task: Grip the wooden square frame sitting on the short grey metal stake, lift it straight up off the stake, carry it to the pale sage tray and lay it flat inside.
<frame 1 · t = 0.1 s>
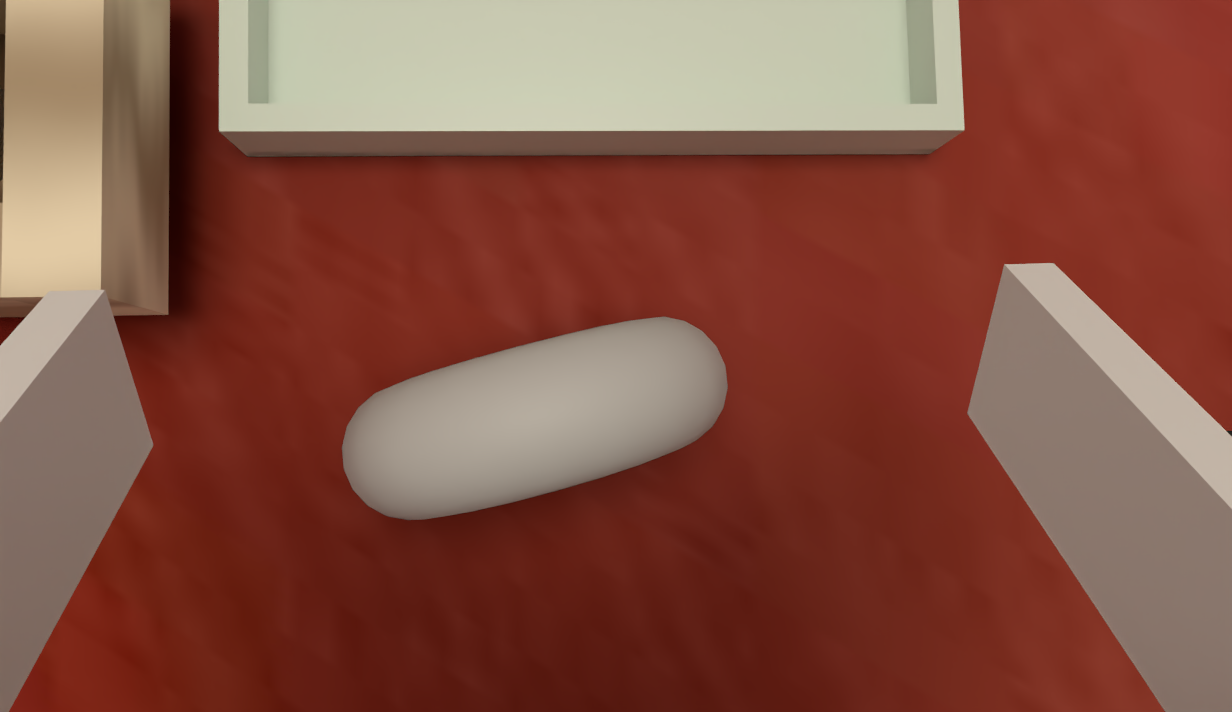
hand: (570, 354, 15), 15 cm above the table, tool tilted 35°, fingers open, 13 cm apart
metal stake: (37, 163, 29), on the table
donut: (539, 416, 30), on the table
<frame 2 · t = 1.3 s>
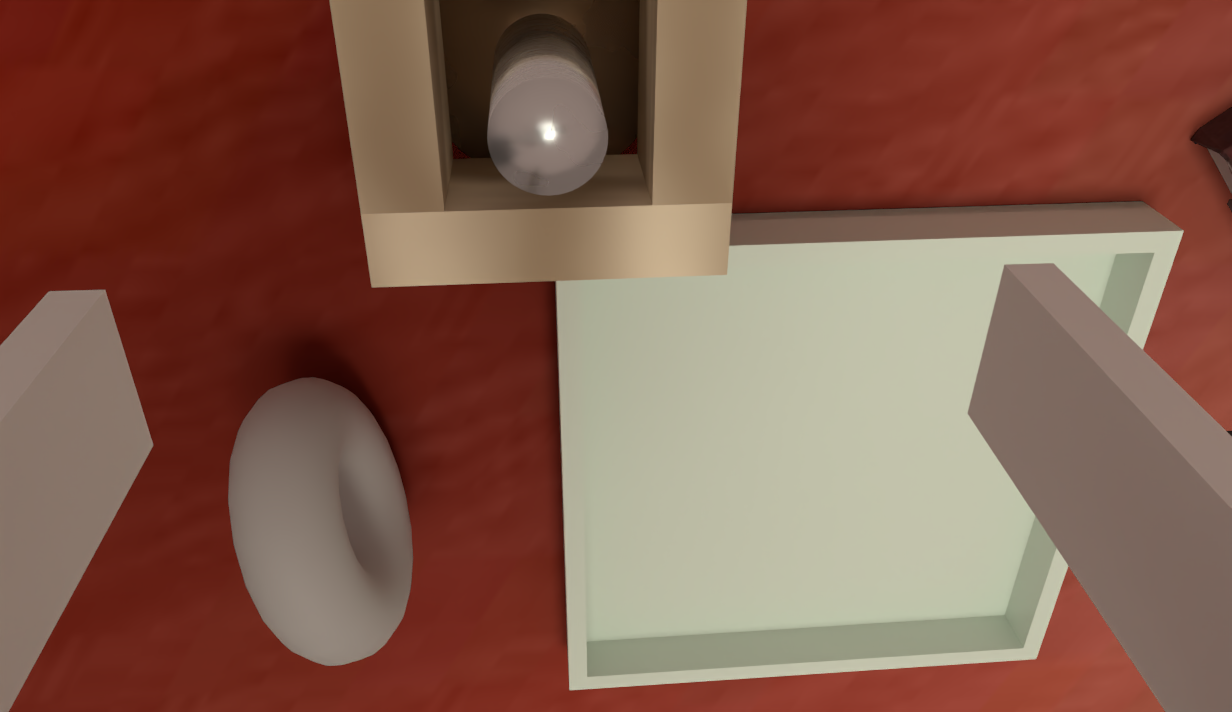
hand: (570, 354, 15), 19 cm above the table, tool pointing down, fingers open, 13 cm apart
wooden square frame: (542, 63, 28), point 3 cm above the table, touching metal stake
metal stake: (540, 38, 30), on the table
donut: (351, 429, 38), on the table
sage tray: (819, 450, 40), on the table
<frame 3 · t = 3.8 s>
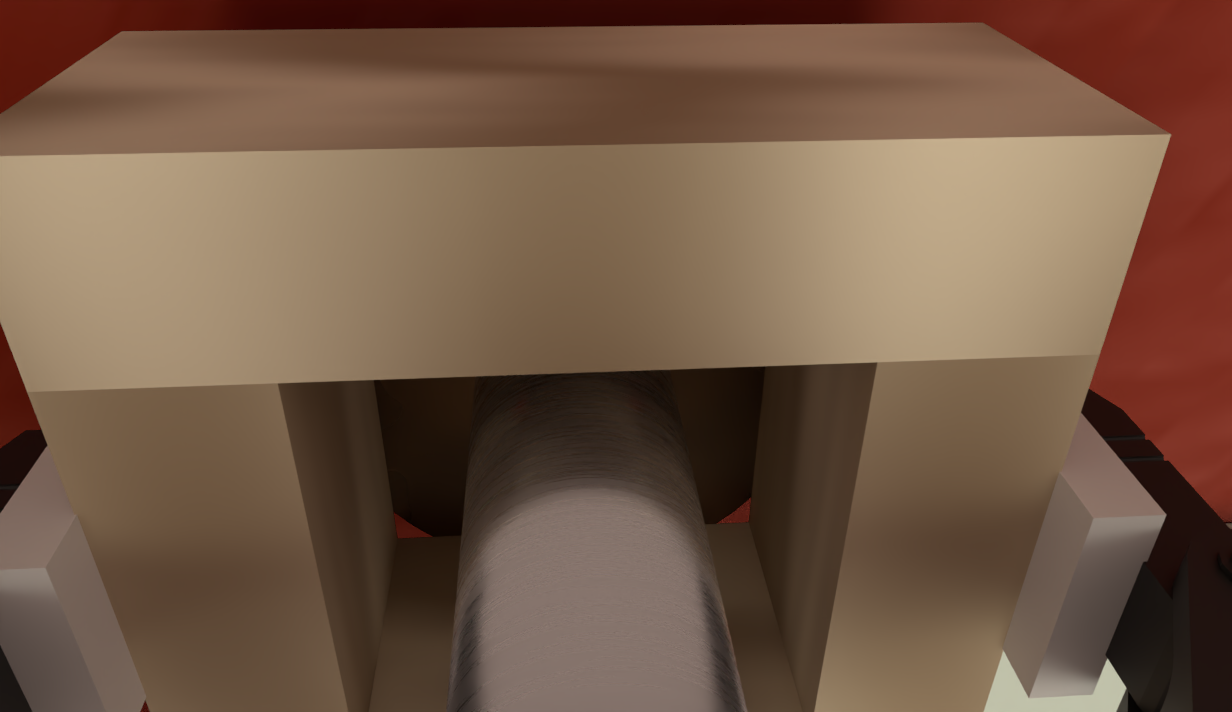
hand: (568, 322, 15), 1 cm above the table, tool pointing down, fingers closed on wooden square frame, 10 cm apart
wooden square frame: (572, 384, 14), point 3 cm above the table, touching gripper, metal stake
metal stake: (566, 286, 16), on the table
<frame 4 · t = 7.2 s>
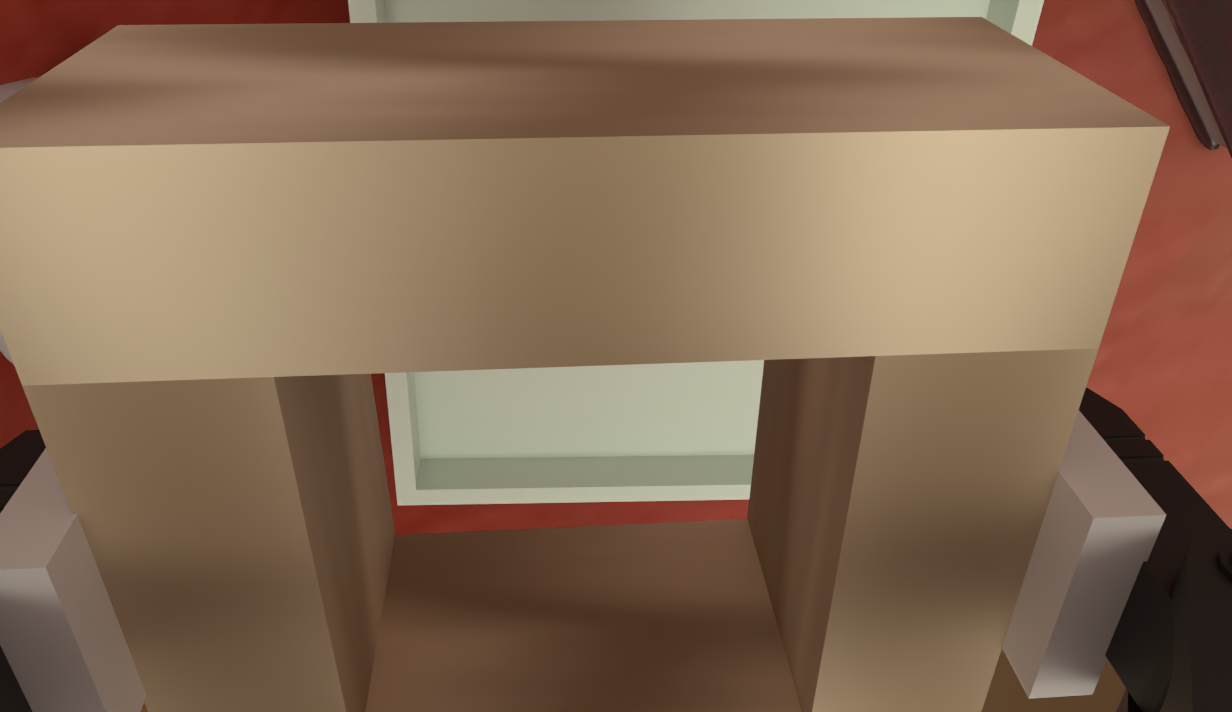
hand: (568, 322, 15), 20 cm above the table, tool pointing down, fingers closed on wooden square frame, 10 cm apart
wooden square frame: (570, 380, 14), point 22 cm above the table, touching gripper
donut: (144, 179, 34), on the table
sage tray: (672, 238, 37), on the table
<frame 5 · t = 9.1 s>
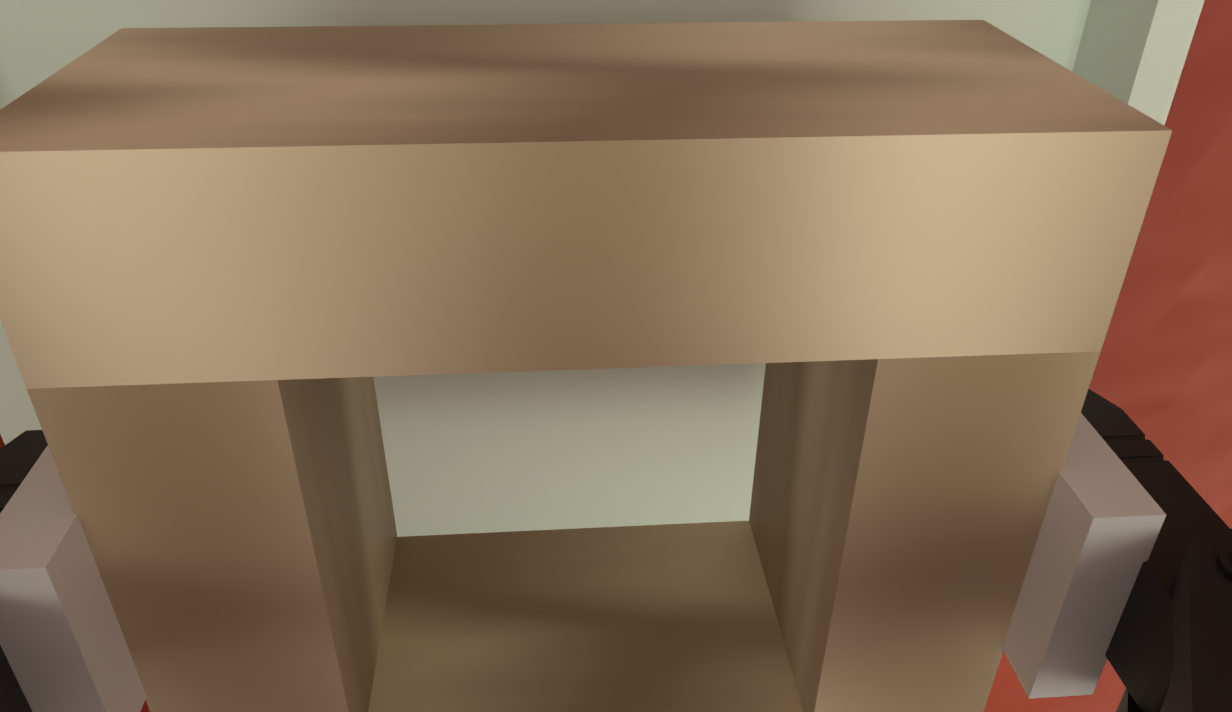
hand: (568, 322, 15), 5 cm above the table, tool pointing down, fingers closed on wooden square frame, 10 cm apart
wooden square frame: (572, 382, 14), point 7 cm above the table, touching gripper
sage tray: (554, 198, 20), on the table
when the fingers open (1 cm above the table, at t = 10.8 s): wooden square frame drops 3 cm, resting on sage tray.
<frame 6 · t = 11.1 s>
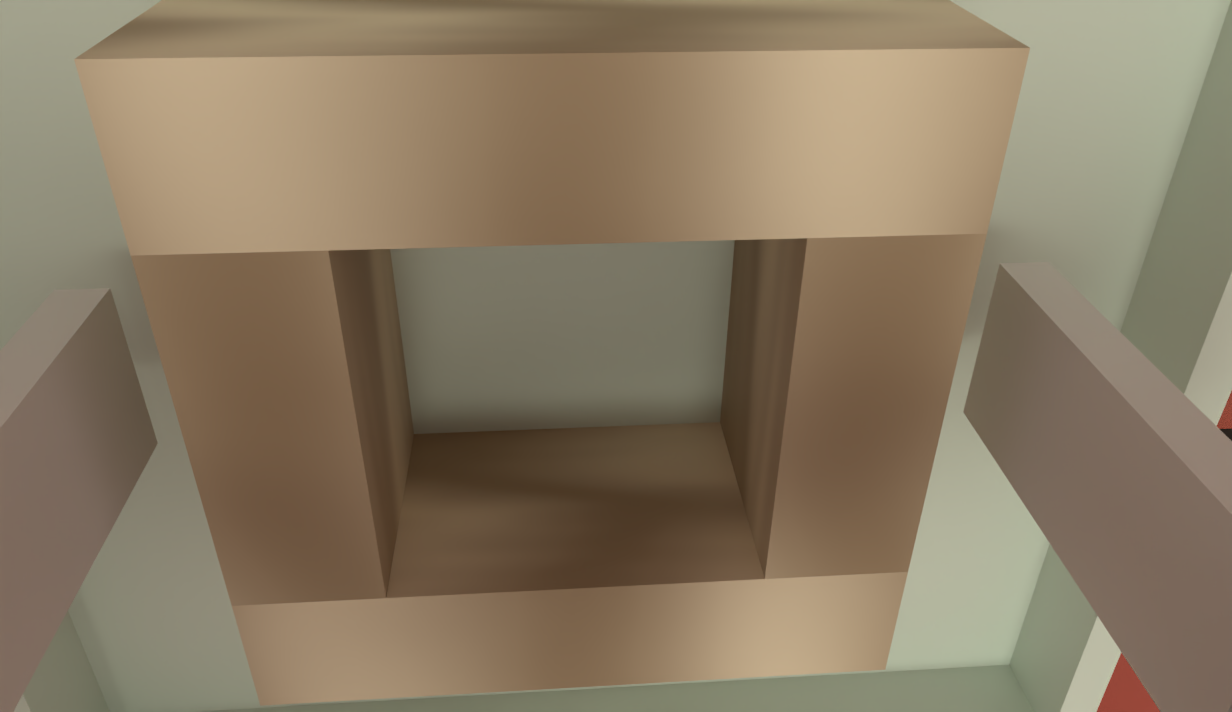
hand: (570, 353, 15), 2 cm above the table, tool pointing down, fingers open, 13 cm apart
wooden square frame: (565, 293, 16), point 1 cm above the table, touching sage tray
sage tray: (565, 278, 17), on the table
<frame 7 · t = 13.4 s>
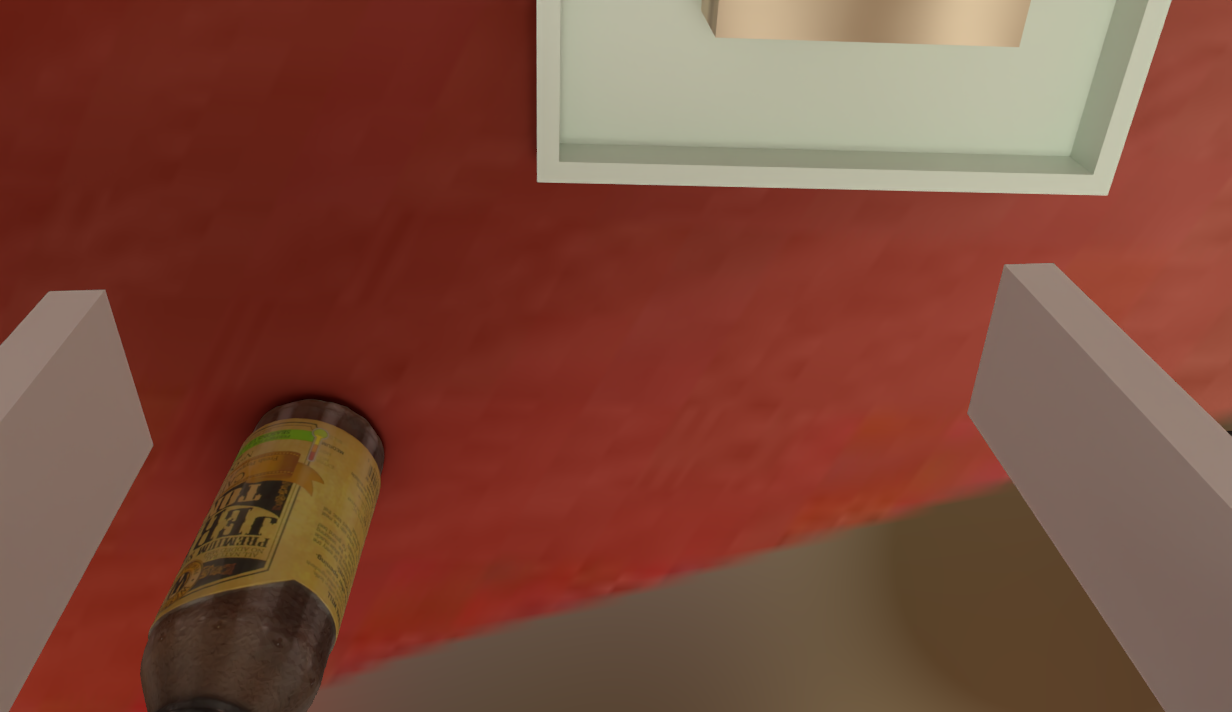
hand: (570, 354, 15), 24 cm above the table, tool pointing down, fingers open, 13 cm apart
sauce bottle: (319, 444, 45), on the table
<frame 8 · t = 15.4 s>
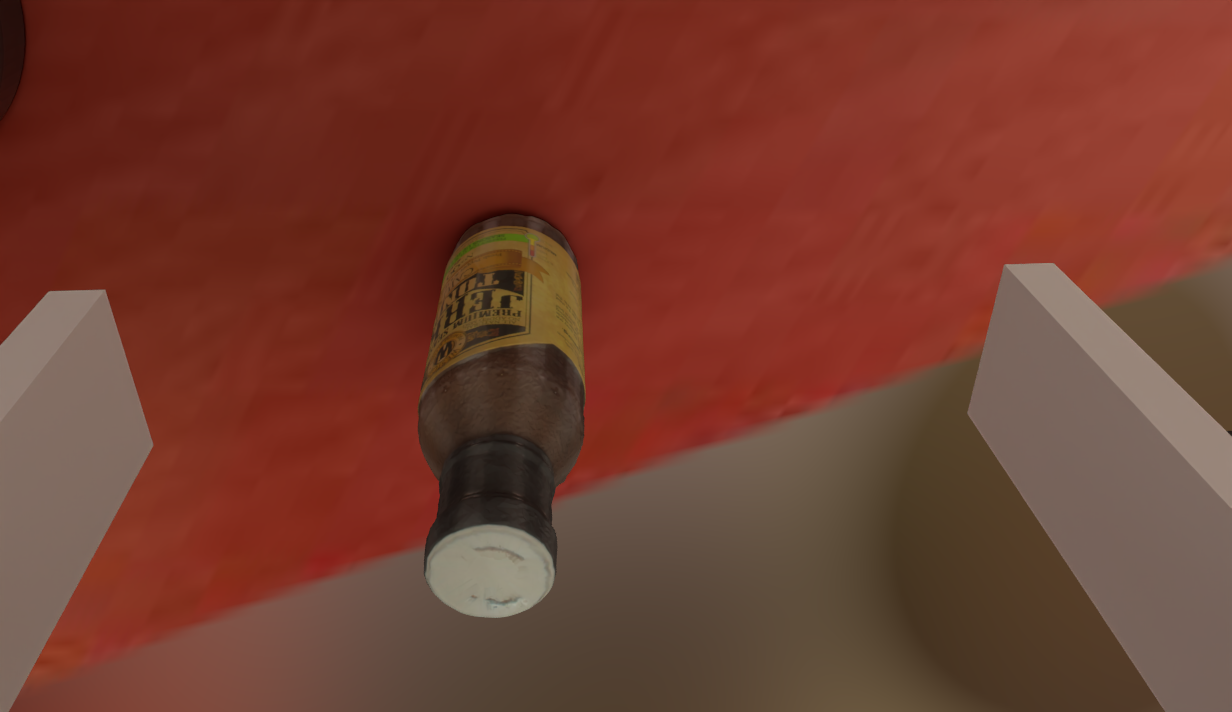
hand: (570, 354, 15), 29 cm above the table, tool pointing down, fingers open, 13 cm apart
sauce bottle: (511, 266, 46), on the table
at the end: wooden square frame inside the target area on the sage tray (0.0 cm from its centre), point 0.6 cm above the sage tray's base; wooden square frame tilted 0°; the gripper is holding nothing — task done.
